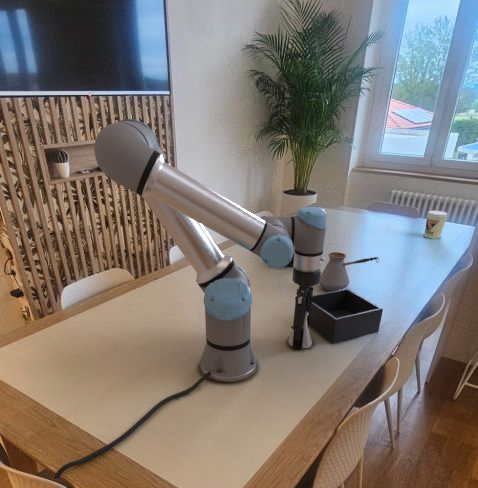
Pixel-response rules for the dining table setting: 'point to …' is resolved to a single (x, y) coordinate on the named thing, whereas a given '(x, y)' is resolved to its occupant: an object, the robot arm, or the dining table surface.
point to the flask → (306, 336)
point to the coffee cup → (435, 224)
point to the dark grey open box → (344, 315)
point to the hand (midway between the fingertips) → (300, 341)
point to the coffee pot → (337, 272)
